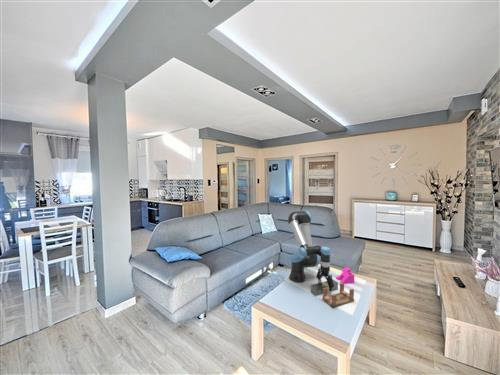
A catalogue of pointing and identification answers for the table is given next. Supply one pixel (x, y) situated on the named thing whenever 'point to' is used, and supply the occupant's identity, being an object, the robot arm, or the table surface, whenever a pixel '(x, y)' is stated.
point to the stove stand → (338, 297)
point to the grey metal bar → (318, 287)
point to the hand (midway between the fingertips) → (324, 290)
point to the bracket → (346, 276)
